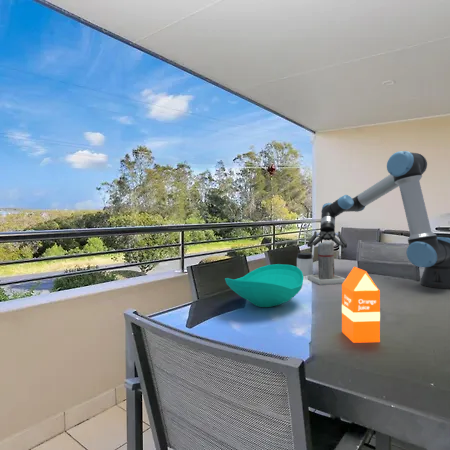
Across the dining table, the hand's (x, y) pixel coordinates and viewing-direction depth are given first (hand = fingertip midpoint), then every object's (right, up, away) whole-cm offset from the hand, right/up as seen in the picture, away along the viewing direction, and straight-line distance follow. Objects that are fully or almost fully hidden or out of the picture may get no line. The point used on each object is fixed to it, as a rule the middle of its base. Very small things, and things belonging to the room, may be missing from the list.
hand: (326, 256), depth 180 cm
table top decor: (-36, -15, -43) cm, 58 cm away
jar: (-7, -12, +19) cm, 24 cm away
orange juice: (-13, -16, -78) cm, 81 cm away
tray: (0, -13, -1) cm, 13 cm away
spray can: (0, -12, -1) cm, 12 cm away
